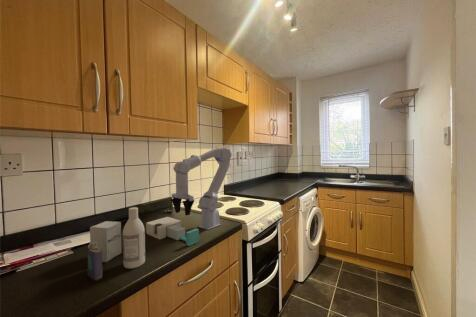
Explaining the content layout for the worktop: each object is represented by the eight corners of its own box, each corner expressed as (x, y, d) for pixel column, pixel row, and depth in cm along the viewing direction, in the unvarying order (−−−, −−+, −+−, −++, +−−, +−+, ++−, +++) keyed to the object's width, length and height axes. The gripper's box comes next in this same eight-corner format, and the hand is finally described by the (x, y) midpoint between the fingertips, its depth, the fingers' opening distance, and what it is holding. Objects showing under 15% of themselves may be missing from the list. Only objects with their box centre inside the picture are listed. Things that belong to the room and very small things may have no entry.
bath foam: (135, 257, 77) (134, 205, 77) (149, 260, 74) (148, 206, 74) (118, 267, 70) (117, 209, 70) (133, 271, 68) (132, 211, 68)
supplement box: (106, 262, 73) (105, 228, 73) (89, 260, 75) (88, 227, 75) (122, 253, 81) (121, 221, 80) (106, 251, 82) (105, 220, 82)
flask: (104, 278, 64) (102, 244, 64) (93, 282, 62) (91, 247, 62) (95, 267, 70) (94, 237, 70) (85, 271, 68) (84, 239, 68)
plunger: (159, 231, 99) (159, 223, 99) (162, 232, 97) (162, 224, 97) (154, 232, 97) (153, 224, 97) (157, 234, 95) (157, 225, 95)
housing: (167, 226, 110) (167, 216, 110) (181, 231, 103) (181, 220, 103) (146, 233, 101) (146, 222, 100) (159, 239, 93) (159, 227, 93)
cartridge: (173, 231, 102) (172, 220, 102) (199, 241, 90) (198, 229, 90) (162, 235, 97) (162, 224, 97) (188, 246, 85) (188, 233, 85)
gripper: (166, 185, 100) (166, 213, 101) (184, 188, 92) (185, 218, 92) (178, 184, 106) (178, 210, 106) (196, 186, 97) (197, 214, 98)
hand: (182, 213), depth 100 cm, fingers open, 7 cm apart
